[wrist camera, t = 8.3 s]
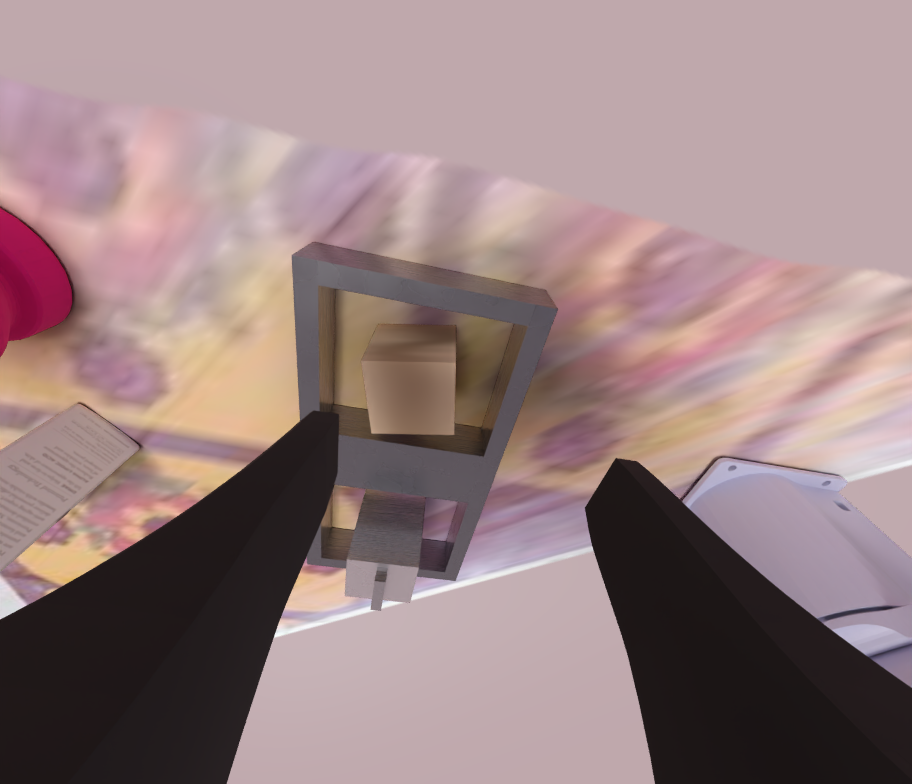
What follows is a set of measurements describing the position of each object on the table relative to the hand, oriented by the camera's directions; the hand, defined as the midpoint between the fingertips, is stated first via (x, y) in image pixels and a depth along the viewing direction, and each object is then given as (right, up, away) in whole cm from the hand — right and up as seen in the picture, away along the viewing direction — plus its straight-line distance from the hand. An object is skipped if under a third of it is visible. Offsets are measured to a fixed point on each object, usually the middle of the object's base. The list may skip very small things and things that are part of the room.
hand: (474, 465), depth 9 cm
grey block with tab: (-5, -6, +17) cm, 18 cm away
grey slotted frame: (-4, -1, +13) cm, 14 cm away
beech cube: (-3, +4, +10) cm, 11 cm away
